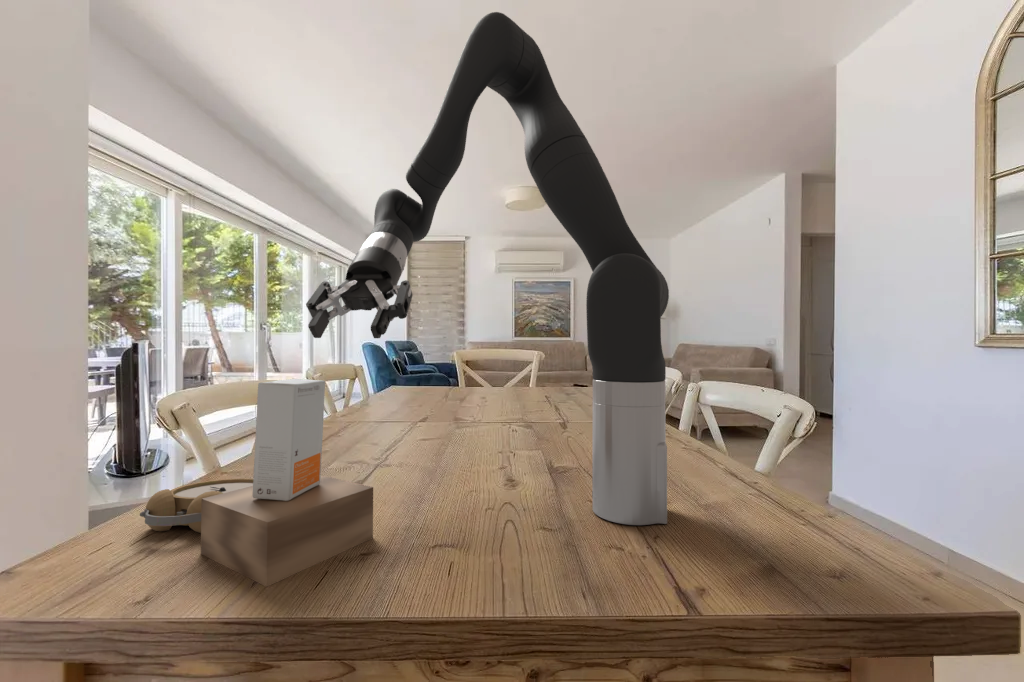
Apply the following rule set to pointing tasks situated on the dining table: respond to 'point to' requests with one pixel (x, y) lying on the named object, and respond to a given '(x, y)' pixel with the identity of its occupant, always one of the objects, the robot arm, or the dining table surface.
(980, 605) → the dining table surface
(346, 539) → the walnut block
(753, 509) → the dining table surface
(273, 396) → the skincare box
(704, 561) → the dining table surface
